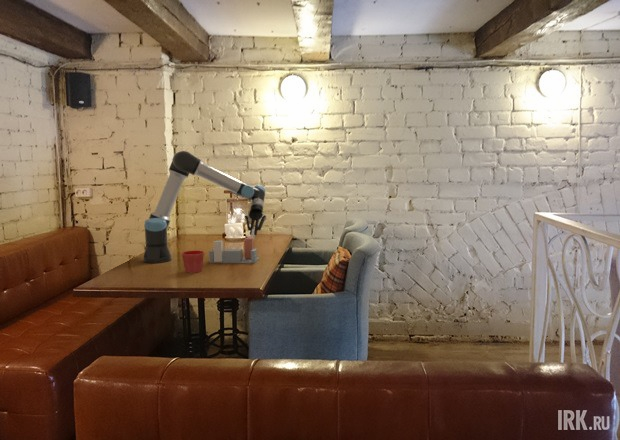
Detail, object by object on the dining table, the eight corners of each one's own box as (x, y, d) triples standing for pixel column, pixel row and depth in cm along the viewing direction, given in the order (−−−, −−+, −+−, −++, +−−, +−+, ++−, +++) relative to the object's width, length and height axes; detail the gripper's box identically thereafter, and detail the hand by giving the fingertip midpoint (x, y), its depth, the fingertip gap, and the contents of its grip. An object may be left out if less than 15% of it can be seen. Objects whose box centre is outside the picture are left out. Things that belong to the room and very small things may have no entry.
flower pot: (199, 273, 247) (198, 254, 246) (178, 273, 249) (177, 253, 248) (208, 269, 258) (207, 250, 256) (188, 268, 260) (187, 250, 259)
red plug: (244, 258, 280) (244, 239, 279) (246, 257, 284) (245, 237, 283) (252, 258, 280) (251, 239, 278) (253, 257, 284) (253, 237, 283)
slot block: (209, 263, 274) (209, 251, 273) (215, 258, 286) (215, 247, 285) (254, 263, 272) (254, 250, 271) (259, 258, 284) (258, 247, 283)
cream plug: (214, 261, 273) (213, 241, 271) (216, 260, 277) (215, 240, 275) (221, 261, 272) (220, 241, 271) (223, 260, 276) (223, 240, 275)
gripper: (245, 203, 302) (240, 235, 287) (266, 203, 301) (262, 235, 286) (247, 211, 308) (242, 243, 293) (268, 211, 307) (264, 242, 292)
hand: (252, 239), depth 290 cm, fingers closed
